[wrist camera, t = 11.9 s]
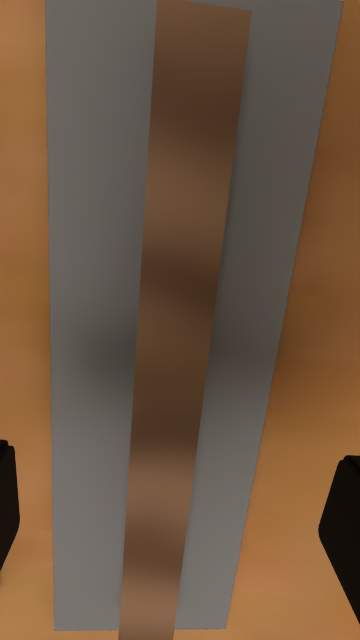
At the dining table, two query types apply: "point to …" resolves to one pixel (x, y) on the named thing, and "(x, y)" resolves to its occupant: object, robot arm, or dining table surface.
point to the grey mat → (124, 285)
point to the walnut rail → (177, 292)
